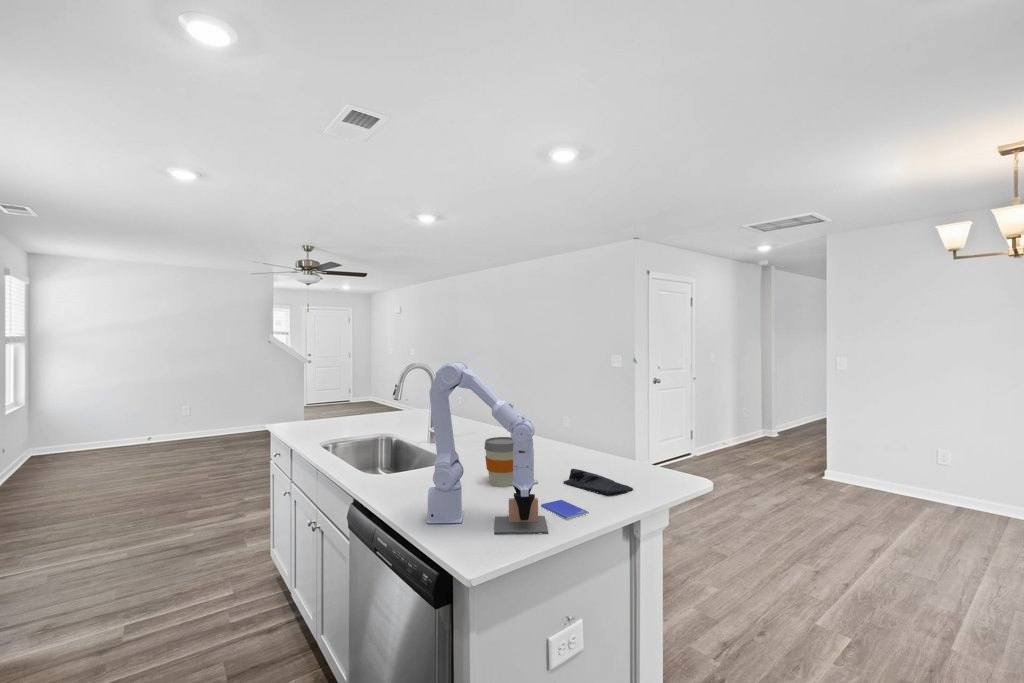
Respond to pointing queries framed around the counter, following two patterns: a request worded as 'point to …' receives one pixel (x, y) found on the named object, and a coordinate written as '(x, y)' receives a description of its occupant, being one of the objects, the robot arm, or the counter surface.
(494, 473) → the reusable coffee cup
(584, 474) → the dark slate chunk
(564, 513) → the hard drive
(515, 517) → the tile
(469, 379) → the robot arm
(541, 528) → the mat
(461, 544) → the counter surface
